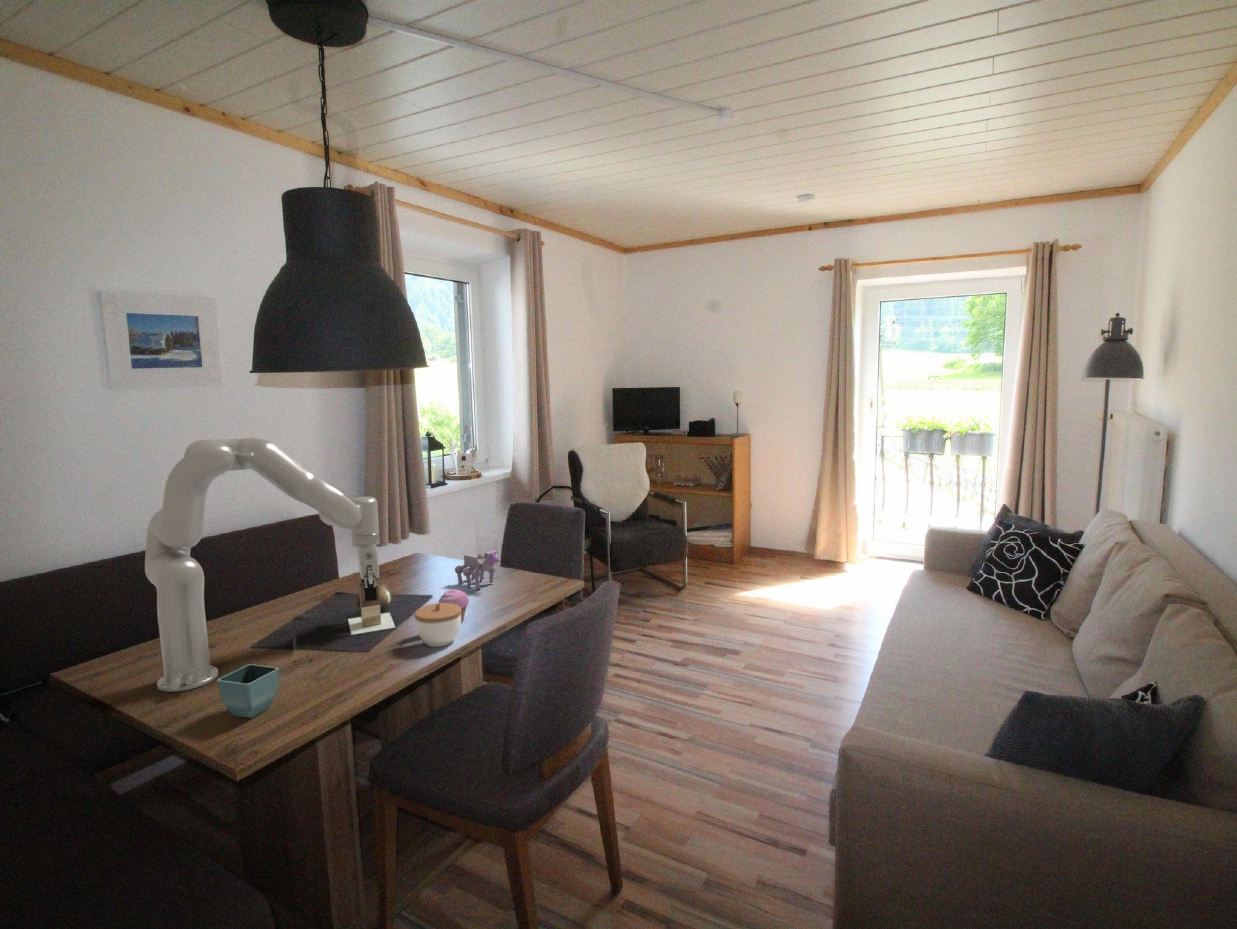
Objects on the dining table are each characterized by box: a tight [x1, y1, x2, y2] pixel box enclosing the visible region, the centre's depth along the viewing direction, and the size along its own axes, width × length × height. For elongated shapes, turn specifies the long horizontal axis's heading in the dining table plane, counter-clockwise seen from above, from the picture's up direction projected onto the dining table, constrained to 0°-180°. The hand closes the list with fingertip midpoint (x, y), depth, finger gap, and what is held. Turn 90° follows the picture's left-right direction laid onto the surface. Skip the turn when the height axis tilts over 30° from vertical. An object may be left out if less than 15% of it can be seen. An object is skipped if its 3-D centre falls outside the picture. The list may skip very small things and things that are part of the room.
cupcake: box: [437, 589, 470, 622], centre depth 197 cm, size 9×9×10 cm
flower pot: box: [216, 663, 280, 719], centre depth 145 cm, size 9×9×9 cm
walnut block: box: [358, 580, 381, 608], centre depth 194 cm, size 5×5×6 cm
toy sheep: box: [454, 549, 501, 590], centre depth 232 cm, size 20×11×14 cm, turn 53°
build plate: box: [347, 612, 396, 636], centre depth 195 cm, size 14×12×1 cm
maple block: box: [359, 602, 381, 627], centre depth 195 cm, size 5×5×6 cm
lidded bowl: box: [414, 602, 462, 648], centre depth 183 cm, size 13×13×11 cm
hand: (369, 595), depth 194 cm, fingers open, 9 cm apart
